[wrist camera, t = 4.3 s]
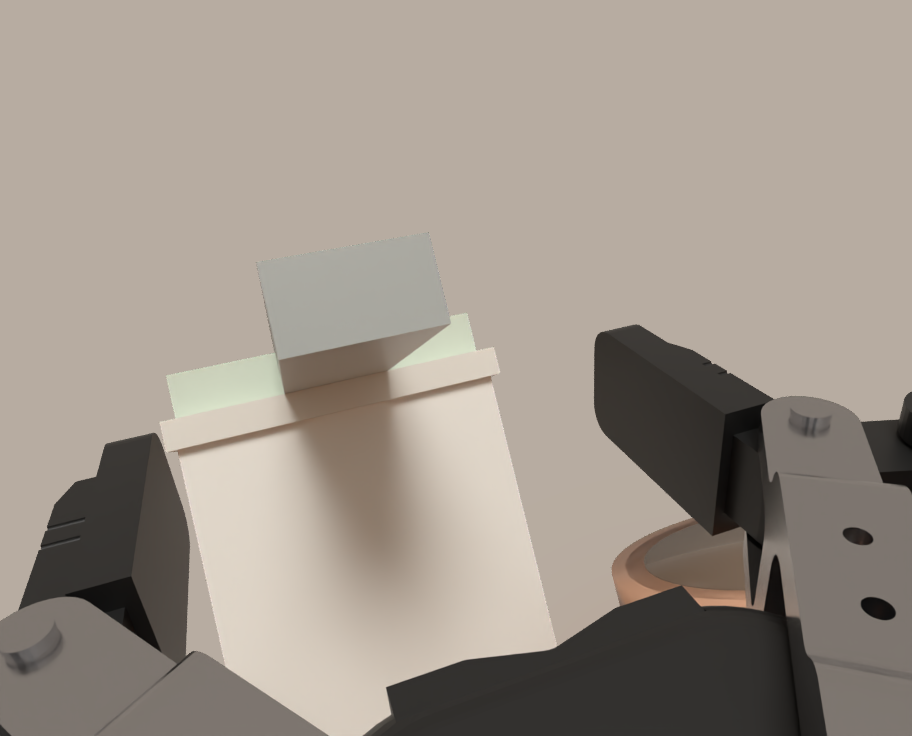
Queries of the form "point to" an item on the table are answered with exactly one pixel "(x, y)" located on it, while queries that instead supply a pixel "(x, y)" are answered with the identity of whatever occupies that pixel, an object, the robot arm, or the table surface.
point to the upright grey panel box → (362, 536)
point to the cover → (336, 324)
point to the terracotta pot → (683, 565)
